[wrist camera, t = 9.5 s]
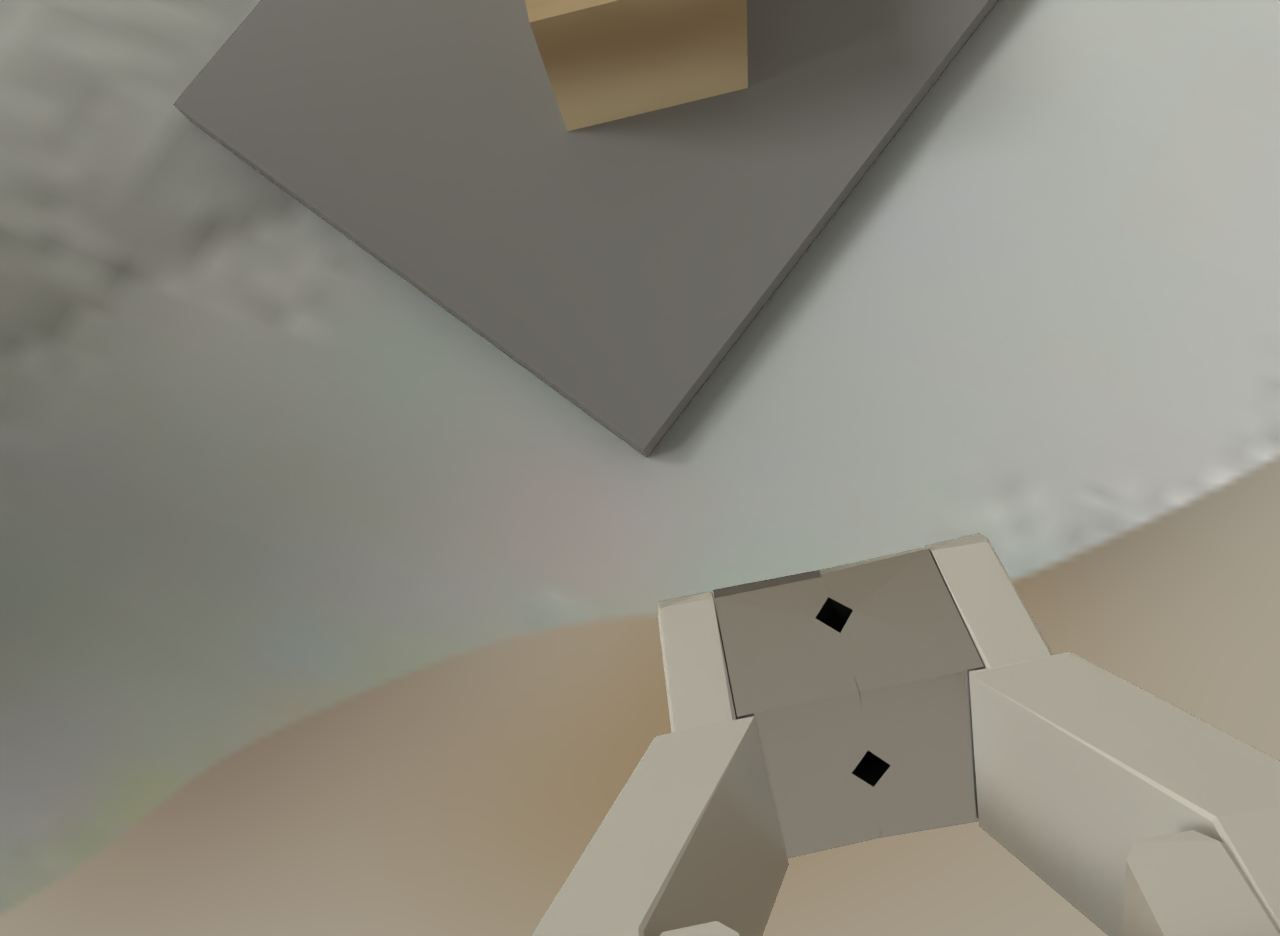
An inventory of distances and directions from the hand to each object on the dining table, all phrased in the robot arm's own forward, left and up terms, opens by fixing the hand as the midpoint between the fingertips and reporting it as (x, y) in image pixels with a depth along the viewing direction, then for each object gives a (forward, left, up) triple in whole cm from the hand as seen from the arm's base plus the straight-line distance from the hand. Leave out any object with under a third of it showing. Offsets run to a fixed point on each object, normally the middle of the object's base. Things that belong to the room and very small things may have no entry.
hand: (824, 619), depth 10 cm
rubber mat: (+13, +14, -17) cm, 26 cm away
